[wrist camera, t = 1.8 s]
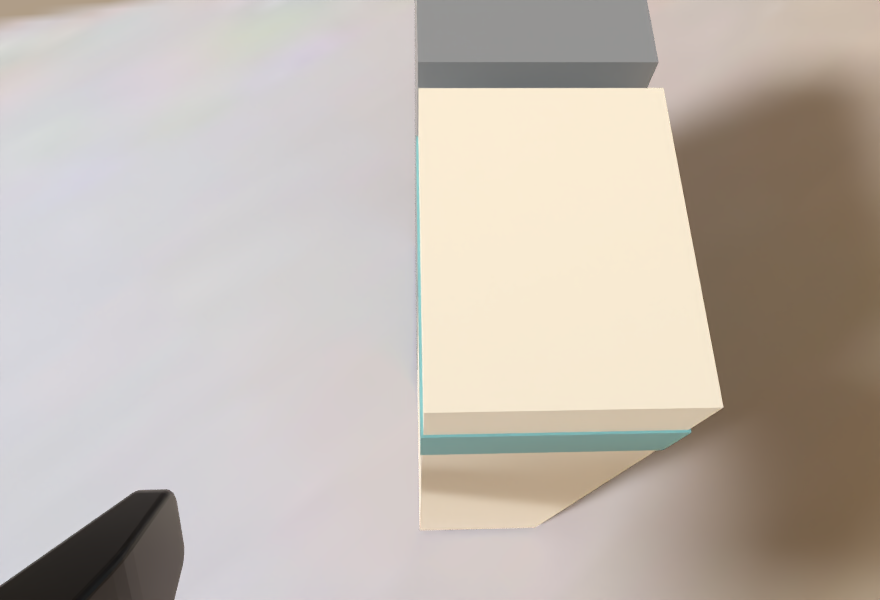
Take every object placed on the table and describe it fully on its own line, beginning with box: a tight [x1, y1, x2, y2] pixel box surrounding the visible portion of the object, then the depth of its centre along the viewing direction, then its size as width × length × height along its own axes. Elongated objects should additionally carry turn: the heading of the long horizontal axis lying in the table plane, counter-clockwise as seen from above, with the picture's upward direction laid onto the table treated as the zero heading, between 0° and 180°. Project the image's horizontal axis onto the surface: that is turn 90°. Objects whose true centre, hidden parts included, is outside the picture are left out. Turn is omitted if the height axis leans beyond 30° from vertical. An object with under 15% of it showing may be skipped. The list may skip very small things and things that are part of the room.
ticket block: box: [415, 0, 658, 370], centre depth 15 cm, size 4×3×12 cm
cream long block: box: [416, 88, 724, 530], centre depth 13 cm, size 4×3×12 cm
